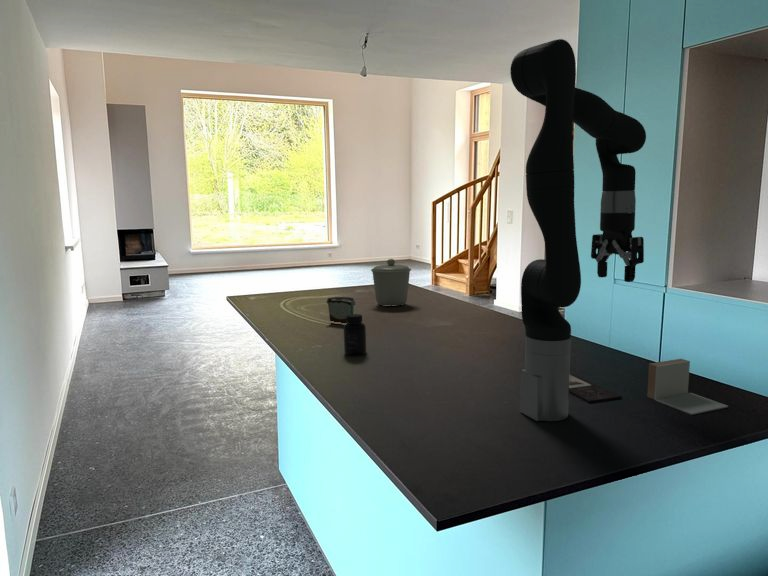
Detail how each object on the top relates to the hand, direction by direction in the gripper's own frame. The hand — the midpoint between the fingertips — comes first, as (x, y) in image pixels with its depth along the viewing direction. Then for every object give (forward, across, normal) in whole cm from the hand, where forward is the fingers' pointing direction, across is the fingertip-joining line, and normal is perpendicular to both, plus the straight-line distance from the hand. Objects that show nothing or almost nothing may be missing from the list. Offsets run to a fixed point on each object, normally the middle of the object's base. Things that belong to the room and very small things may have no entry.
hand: (615, 279), depth 131 cm
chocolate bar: (+27, -2, -8) cm, 28 cm away
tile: (+27, +10, +7) cm, 30 cm away
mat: (+27, +16, +7) cm, 32 cm away
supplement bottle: (+26, -56, -48) cm, 78 cm away
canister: (+27, -127, -8) cm, 130 cm away
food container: (+26, -99, -39) cm, 109 cm away
